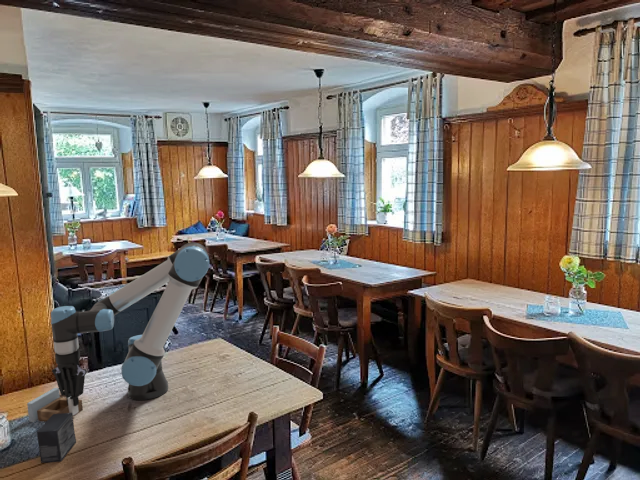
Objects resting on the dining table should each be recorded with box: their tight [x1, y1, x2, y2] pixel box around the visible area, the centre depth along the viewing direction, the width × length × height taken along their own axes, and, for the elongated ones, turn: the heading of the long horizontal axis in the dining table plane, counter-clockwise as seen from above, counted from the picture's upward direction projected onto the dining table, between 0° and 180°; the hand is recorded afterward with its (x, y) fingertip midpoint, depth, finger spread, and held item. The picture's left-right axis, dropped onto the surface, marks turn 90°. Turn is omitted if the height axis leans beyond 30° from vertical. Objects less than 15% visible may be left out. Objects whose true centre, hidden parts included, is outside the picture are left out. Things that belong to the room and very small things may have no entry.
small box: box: [36, 413, 77, 464], centre depth 144 cm, size 11×6×10 cm, turn 5°
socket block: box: [37, 396, 84, 423], centre depth 167 cm, size 10×10×4 cm
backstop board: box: [26, 387, 61, 423], centre depth 168 cm, size 2×12×7 cm, turn 165°
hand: (74, 413), depth 165 cm, fingers closed
